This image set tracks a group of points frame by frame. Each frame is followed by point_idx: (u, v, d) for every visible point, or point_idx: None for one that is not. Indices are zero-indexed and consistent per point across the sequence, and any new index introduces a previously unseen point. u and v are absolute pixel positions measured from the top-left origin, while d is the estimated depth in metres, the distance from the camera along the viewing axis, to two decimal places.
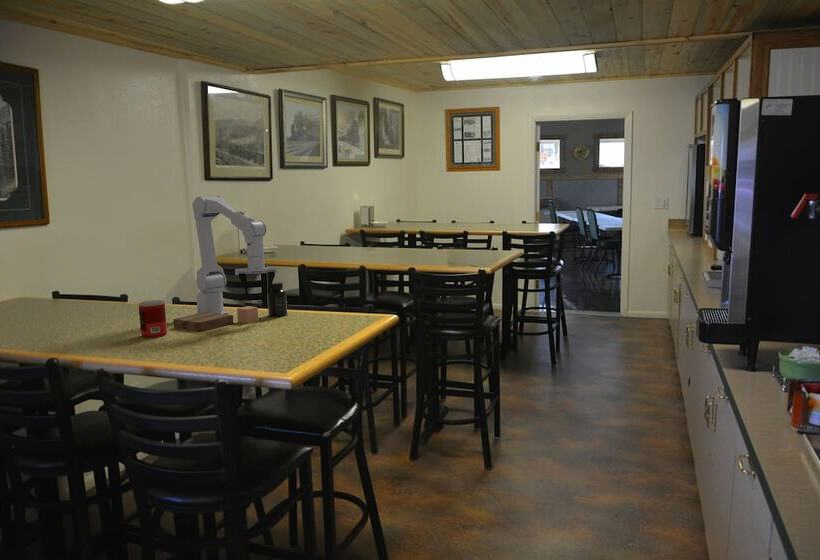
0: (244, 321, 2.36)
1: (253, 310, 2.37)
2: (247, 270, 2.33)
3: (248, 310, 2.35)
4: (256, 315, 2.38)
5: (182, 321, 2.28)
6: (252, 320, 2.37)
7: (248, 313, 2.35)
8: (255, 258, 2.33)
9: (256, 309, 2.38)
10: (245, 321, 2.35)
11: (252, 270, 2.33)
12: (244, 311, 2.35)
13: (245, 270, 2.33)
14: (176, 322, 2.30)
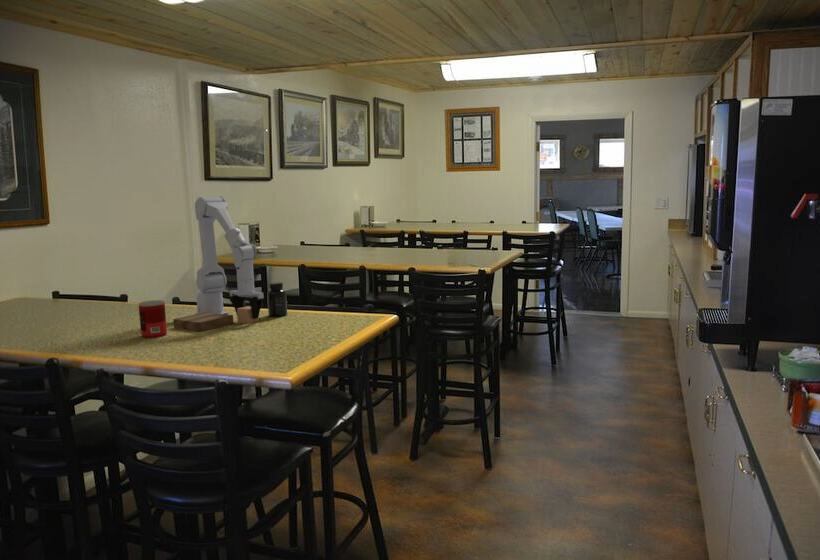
0: (244, 321, 2.36)
1: None
2: (235, 293, 2.37)
3: (248, 310, 2.35)
4: None
5: (182, 321, 2.28)
6: (252, 320, 2.37)
7: (248, 313, 2.35)
8: (239, 282, 2.34)
9: None
10: (245, 321, 2.35)
11: None
12: (244, 311, 2.35)
13: (234, 292, 2.37)
14: (176, 322, 2.30)
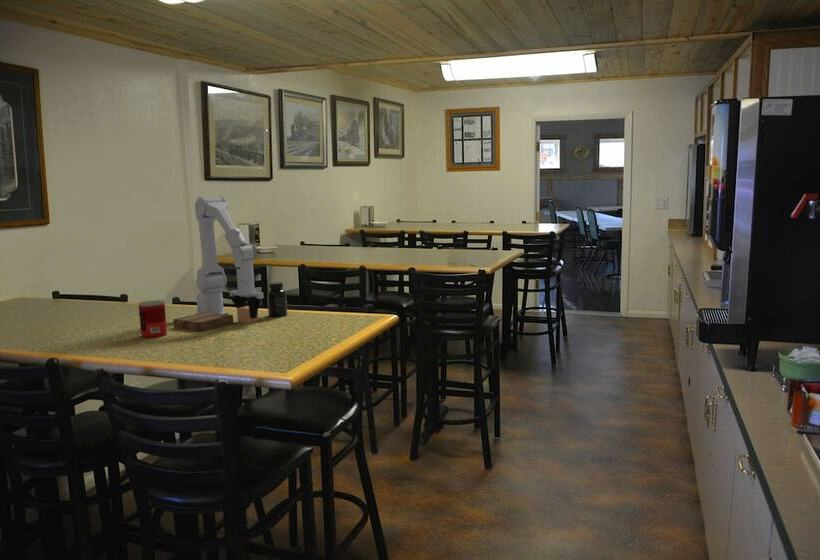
0: (244, 321, 2.36)
1: None
2: (235, 293, 2.37)
3: (248, 310, 2.35)
4: None
5: (182, 321, 2.28)
6: (252, 320, 2.37)
7: (248, 312, 2.35)
8: (239, 282, 2.34)
9: None
10: (245, 321, 2.35)
11: None
12: (244, 311, 2.35)
13: (234, 292, 2.37)
14: (176, 322, 2.30)
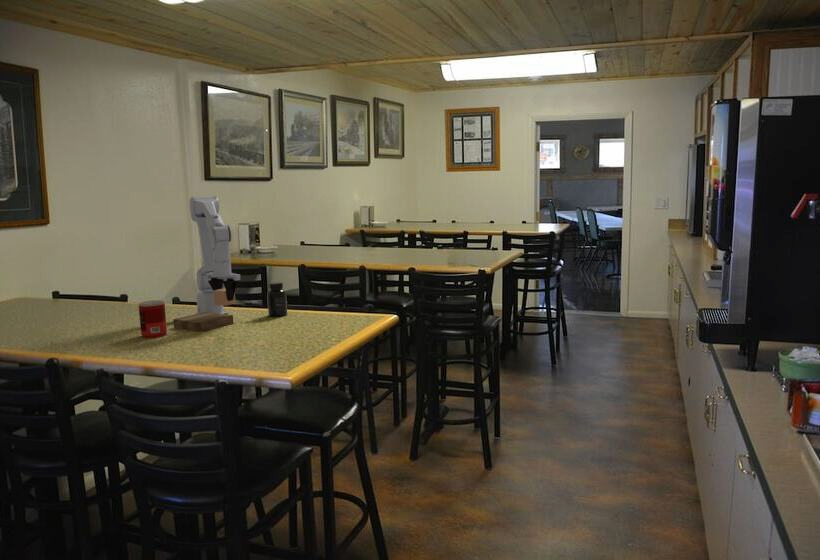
0: (221, 303, 2.32)
1: None
2: (212, 275, 2.33)
3: (225, 292, 2.31)
4: None
5: (182, 321, 2.28)
6: (229, 302, 2.33)
7: (225, 294, 2.31)
8: (215, 263, 2.30)
9: None
10: (222, 303, 2.32)
11: None
12: (221, 293, 2.31)
13: (211, 274, 2.34)
14: (176, 322, 2.30)
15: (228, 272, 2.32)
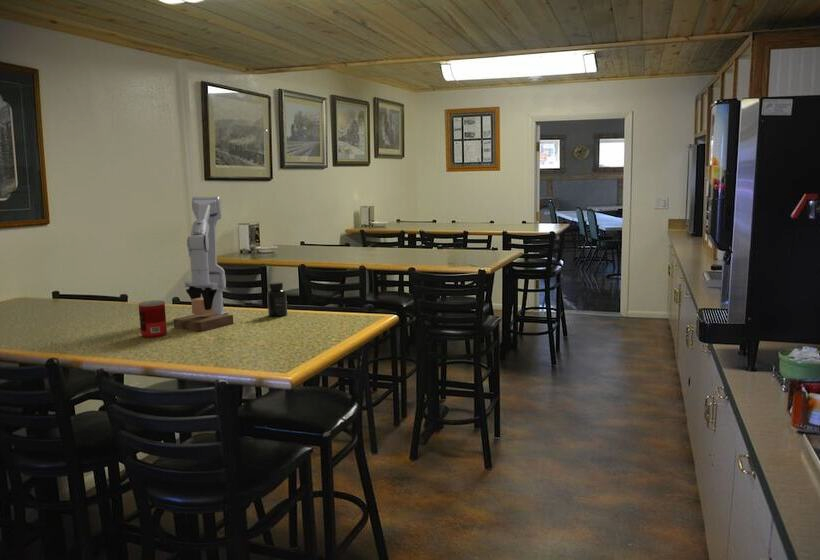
0: (198, 312, 2.30)
1: None
2: (189, 283, 2.31)
3: (202, 301, 2.29)
4: None
5: (182, 321, 2.28)
6: (207, 311, 2.31)
7: (203, 304, 2.29)
8: (192, 272, 2.28)
9: None
10: (199, 312, 2.30)
11: (191, 284, 2.30)
12: (198, 302, 2.29)
13: (189, 283, 2.31)
14: (176, 322, 2.30)
15: (206, 281, 2.29)
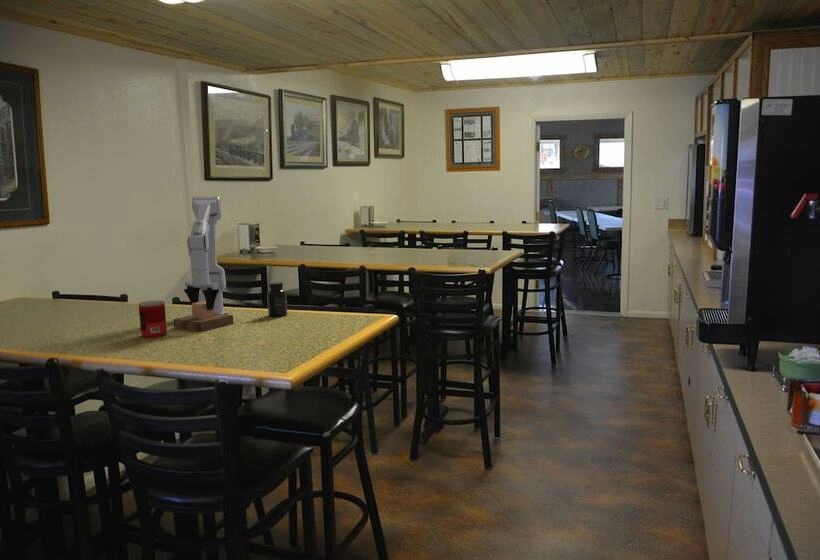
0: (198, 316, 2.30)
1: None
2: (189, 283, 2.31)
3: (202, 305, 2.29)
4: (211, 311, 2.32)
5: (182, 321, 2.28)
6: (207, 315, 2.31)
7: (203, 308, 2.29)
8: (192, 272, 2.28)
9: None
10: (199, 316, 2.30)
11: (191, 284, 2.30)
12: (198, 306, 2.29)
13: (189, 283, 2.31)
14: (176, 322, 2.30)
15: (206, 281, 2.29)
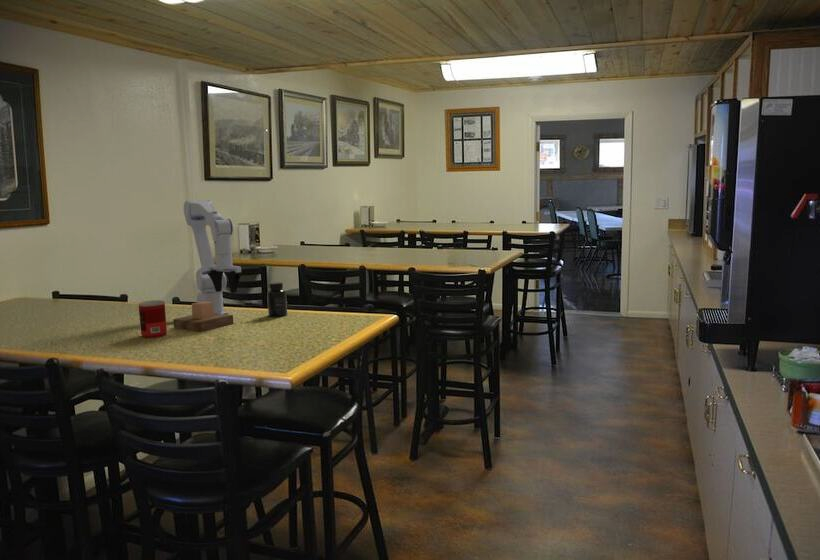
0: (198, 316, 2.30)
1: (208, 305, 2.31)
2: (213, 267, 2.38)
3: (202, 305, 2.29)
4: (211, 311, 2.32)
5: (182, 321, 2.28)
6: (207, 315, 2.31)
7: (203, 308, 2.29)
8: (216, 256, 2.35)
9: (211, 304, 2.32)
10: (199, 316, 2.30)
11: None
12: (198, 306, 2.29)
13: (212, 267, 2.39)
14: (176, 322, 2.30)
15: (229, 264, 2.36)
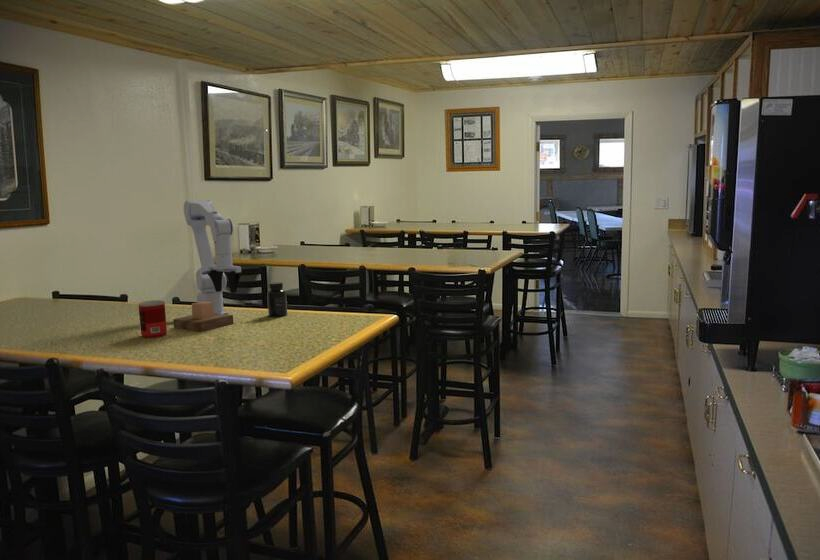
0: (198, 316, 2.30)
1: (208, 305, 2.31)
2: (213, 267, 2.38)
3: (202, 305, 2.29)
4: (211, 311, 2.32)
5: (182, 321, 2.28)
6: (207, 315, 2.31)
7: (203, 308, 2.29)
8: (216, 256, 2.35)
9: (211, 304, 2.32)
10: (199, 316, 2.30)
11: None
12: (198, 306, 2.29)
13: (212, 267, 2.39)
14: (176, 322, 2.30)
15: (229, 264, 2.36)
